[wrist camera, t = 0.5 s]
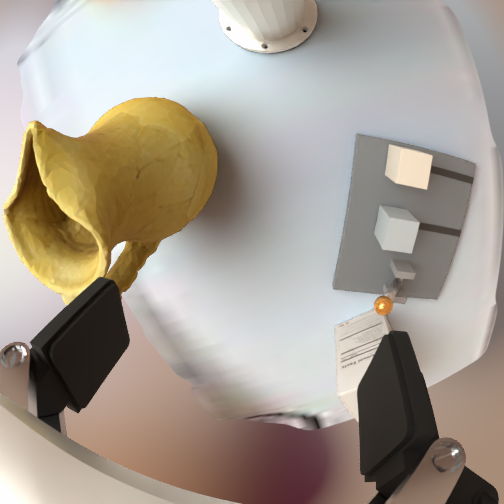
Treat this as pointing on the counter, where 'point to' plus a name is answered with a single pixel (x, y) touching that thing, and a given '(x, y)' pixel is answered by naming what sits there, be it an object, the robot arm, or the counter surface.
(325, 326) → the counter surface
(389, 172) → the cream slider
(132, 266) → the pitcher
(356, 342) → the supplement box
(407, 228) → the white cube
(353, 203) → the panel
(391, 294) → the lever
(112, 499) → the robot arm
